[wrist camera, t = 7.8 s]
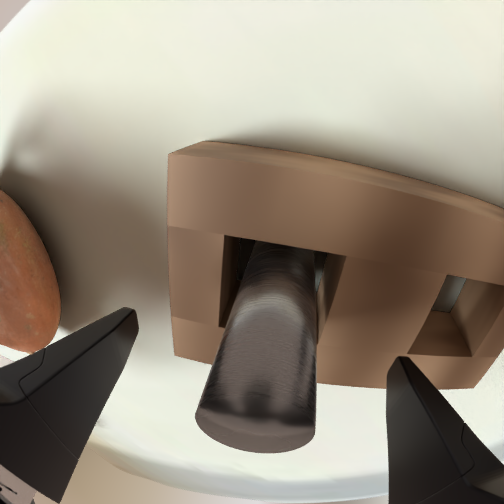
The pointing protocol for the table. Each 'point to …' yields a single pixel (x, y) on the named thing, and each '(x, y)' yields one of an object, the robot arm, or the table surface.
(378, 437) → the table surface
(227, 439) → the peg
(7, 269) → the ceramic jug
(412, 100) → the table surface
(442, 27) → the table surface
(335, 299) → the hole block
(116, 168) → the table surface
